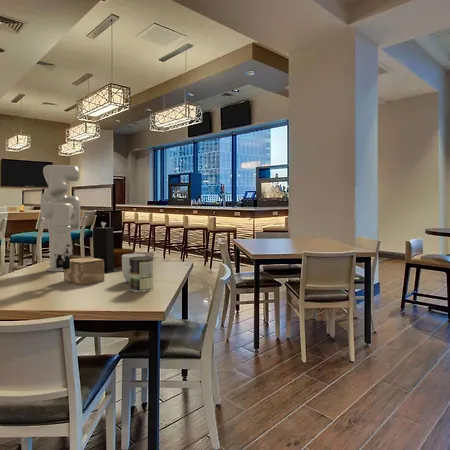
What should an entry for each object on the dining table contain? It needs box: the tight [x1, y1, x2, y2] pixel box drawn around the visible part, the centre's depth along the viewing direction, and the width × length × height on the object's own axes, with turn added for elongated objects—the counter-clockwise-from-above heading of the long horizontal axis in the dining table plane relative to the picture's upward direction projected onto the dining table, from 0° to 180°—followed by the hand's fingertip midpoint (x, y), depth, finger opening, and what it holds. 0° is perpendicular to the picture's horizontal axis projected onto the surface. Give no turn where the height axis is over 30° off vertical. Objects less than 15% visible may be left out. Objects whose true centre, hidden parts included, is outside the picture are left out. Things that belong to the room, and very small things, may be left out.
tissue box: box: [92, 221, 115, 274], centre depth 199 cm, size 8×8×28 cm
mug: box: [121, 253, 146, 284], centre depth 175 cm, size 15×11×13 cm
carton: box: [63, 261, 105, 286], centre depth 176 cm, size 16×12×10 cm
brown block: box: [114, 248, 135, 269], centre depth 215 cm, size 18×18×10 cm
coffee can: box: [129, 255, 154, 293], centre depth 158 cm, size 10×10×14 cm
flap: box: [58, 256, 103, 265], centre depth 173 cm, size 15×18×2 cm
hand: (63, 268), depth 167 cm, fingers closed on flap, 5 cm apart
